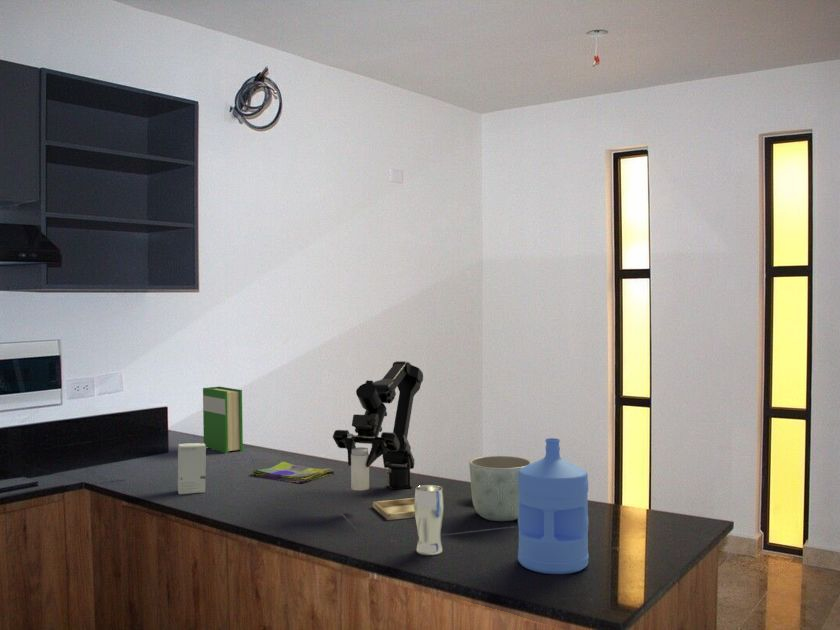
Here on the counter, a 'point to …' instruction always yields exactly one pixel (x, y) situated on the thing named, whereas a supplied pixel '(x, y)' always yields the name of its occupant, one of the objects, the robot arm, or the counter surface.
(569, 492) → the water jug
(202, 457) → the skincare box
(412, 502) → the tray
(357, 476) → the ball
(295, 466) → the dish towel
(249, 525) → the counter surface
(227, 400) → the hardback book
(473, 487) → the planter
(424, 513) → the beer glass
